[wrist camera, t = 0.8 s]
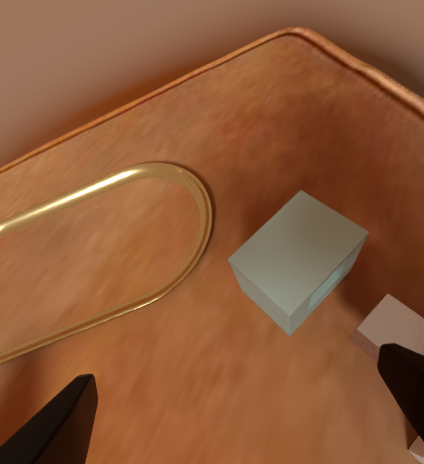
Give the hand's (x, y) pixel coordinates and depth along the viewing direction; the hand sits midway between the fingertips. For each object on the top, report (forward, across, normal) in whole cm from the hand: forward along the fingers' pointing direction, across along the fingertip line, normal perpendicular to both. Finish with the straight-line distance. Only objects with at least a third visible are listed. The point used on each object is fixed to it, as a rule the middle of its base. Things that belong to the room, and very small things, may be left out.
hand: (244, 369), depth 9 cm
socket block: (+15, -8, +4) cm, 17 cm away
